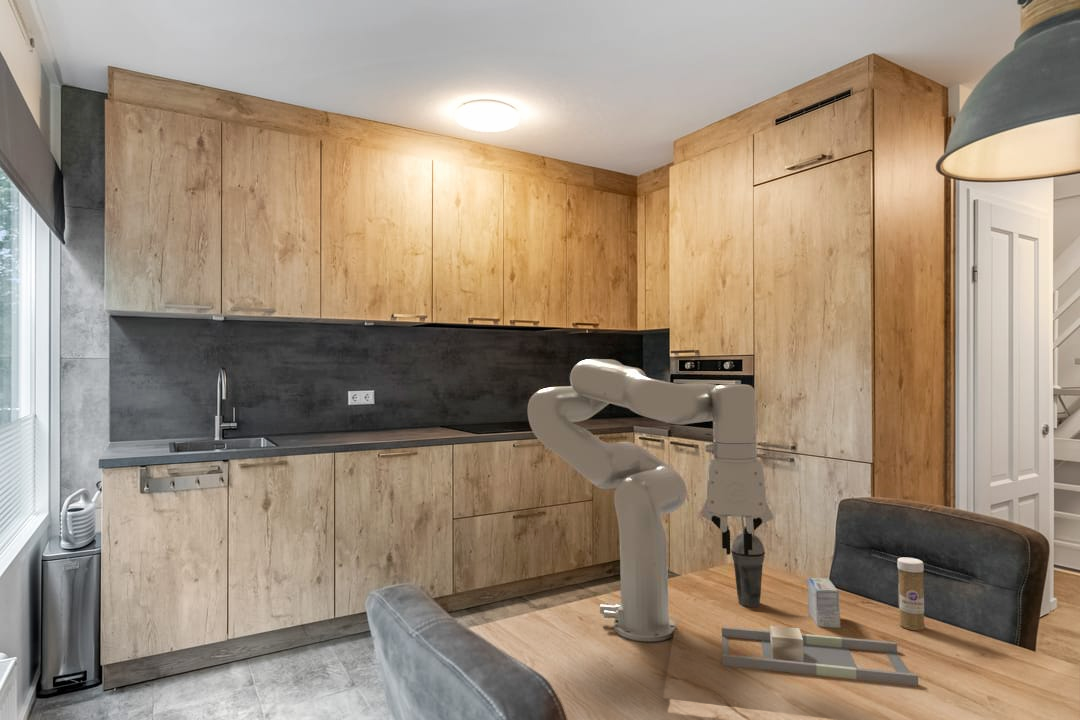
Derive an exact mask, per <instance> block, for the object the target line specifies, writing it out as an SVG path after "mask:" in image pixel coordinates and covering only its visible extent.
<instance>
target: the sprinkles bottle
mask: <svg viewBox="0 0 1080 720" xmlns="http://www.w3.org/2000/svg"><path fill="white" fill-rule="evenodd" d="M896 565H897V566H896V567H897V571H898V586H897V587H898V609H899V621H898V623H899V626H900V627H902V628H904V629H906V630H911V631H923V630H924V629H925V628H926V626H925V594H924V575H923V574H924V569H925V567H924V561H923V560H921V559H919V558H914V557H904V556H903V557H899V558H897V563H896Z"/></svg>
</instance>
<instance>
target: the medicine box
mask: <svg viewBox="0 0 1080 720" xmlns="http://www.w3.org/2000/svg"><path fill="white" fill-rule="evenodd" d="M807 599H808V600H807V602H808V603H807V606H808V617H811V618H812V620H813V621H814V623H815V625H816V627H821V628H841V610H840V592H839V590H838V589H837V588H836V587H835V585H834V584H833V582H832V580H830V579H829V578H825V577H824V578H822V577H820V578H819V577H808V578H807Z"/></svg>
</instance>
